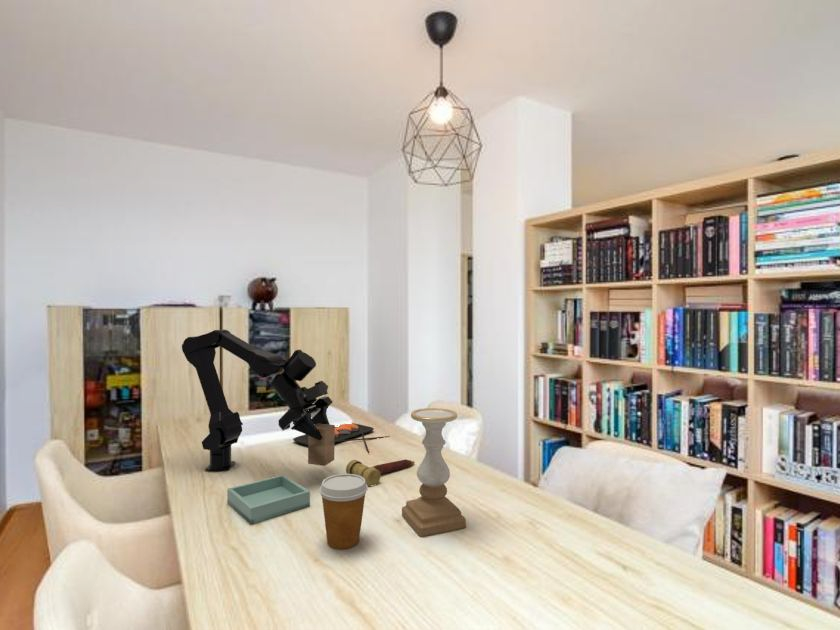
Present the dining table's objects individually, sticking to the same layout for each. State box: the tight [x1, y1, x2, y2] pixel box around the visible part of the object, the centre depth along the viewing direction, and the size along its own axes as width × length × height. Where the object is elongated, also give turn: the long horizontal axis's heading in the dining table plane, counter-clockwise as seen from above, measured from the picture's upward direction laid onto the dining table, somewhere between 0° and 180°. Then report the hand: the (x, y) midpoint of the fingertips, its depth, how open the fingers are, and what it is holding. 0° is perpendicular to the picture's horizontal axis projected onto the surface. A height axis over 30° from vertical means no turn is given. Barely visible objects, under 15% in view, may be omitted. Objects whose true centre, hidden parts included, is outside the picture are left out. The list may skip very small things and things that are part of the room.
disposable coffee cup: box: [318, 473, 369, 550], centre depth 91 cm, size 10×10×12 cm
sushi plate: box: [292, 422, 391, 454], centre depth 159 cm, size 29×30×4 cm
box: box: [226, 474, 311, 525], centre depth 107 cm, size 14×14×4 cm
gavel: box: [345, 458, 415, 487], centre depth 129 cm, size 21×5×10 cm
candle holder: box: [401, 407, 467, 538], centre depth 100 cm, size 11×11×24 cm
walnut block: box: [307, 423, 336, 467], centre depth 121 cm, size 5×5×10 cm
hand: (326, 436), depth 121 cm, fingers closed on walnut block, 5 cm apart
